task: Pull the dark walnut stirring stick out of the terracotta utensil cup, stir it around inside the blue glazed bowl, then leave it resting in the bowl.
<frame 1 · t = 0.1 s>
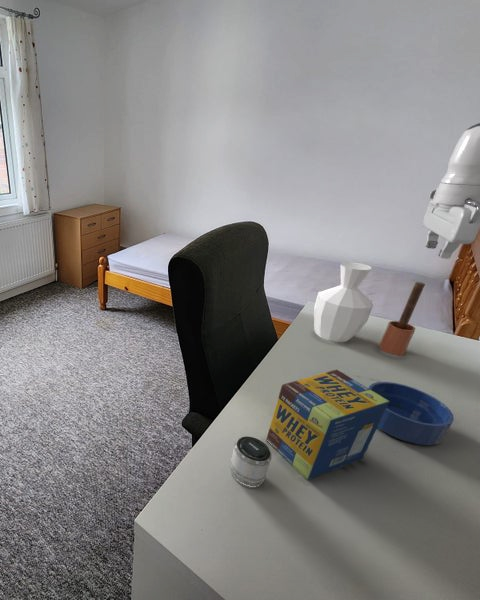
hand: (436, 252, 86), 33 cm above the table, tool pointing down, fingers open, 8 cm apart
protein box: (312, 450, 72), on the table
holder: (390, 351, 104), on the table
vase: (331, 337, 112), on the table
bowl: (398, 422, 78), on the table
small jar: (245, 475, 67), on the table
stick: (391, 349, 104), point 1 cm above the table, touching holder
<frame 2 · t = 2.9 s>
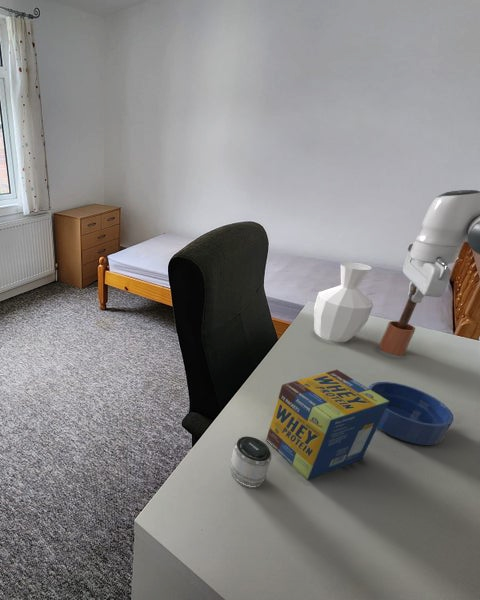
hand: (413, 299, 97), 18 cm above the table, tool pointing down, fingers closed on stick, 2 cm apart
stick: (391, 349, 104), point 1 cm above the table, touching gripper, holder
everything else where it was.
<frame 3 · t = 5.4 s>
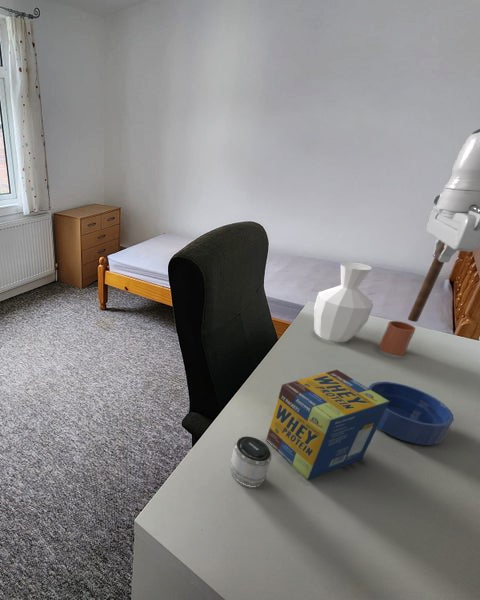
hand: (439, 259, 84), 32 cm above the table, tool pointing down, fingers closed on stick
stick: (412, 319, 91), point 15 cm above the table, touching gripper
everything else where it was.
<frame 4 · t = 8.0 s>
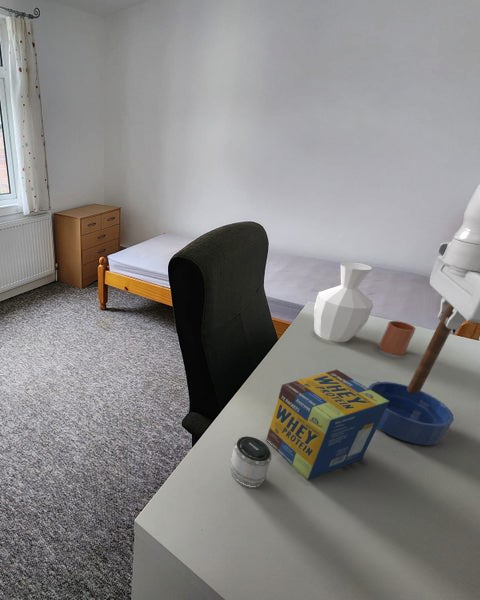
hand: (447, 323, 67), 26 cm above the table, tool pointing down, fingers closed on stick
stick: (412, 391, 74), point 9 cm above the table, touching gripper
everything else where it was.
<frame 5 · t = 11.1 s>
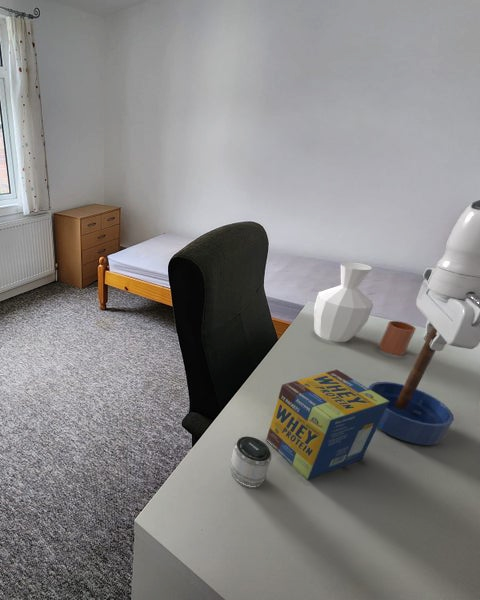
hand: (431, 344, 72), 20 cm above the table, tool pointing down, fingers closed on stick, 2 cm apart
stick: (400, 406, 79), point 3 cm above the table, touching gripper
everything else where it was.
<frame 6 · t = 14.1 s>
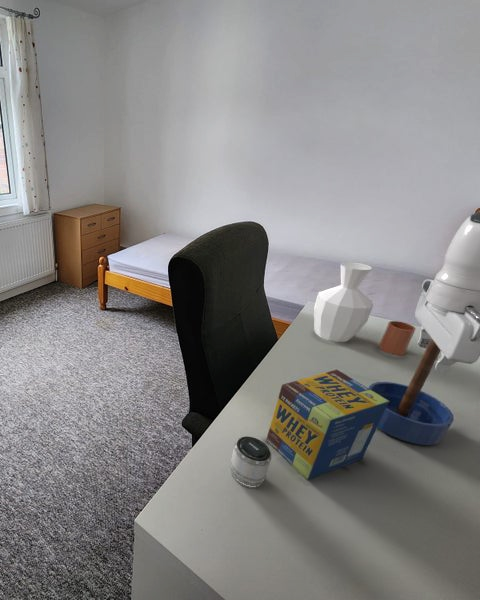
hand: (430, 357, 71), 18 cm above the table, tool pointing down, fingers open, 8 cm apart
stick: (398, 420, 78), point 1 cm above the table, touching bowl
everything else where it was.
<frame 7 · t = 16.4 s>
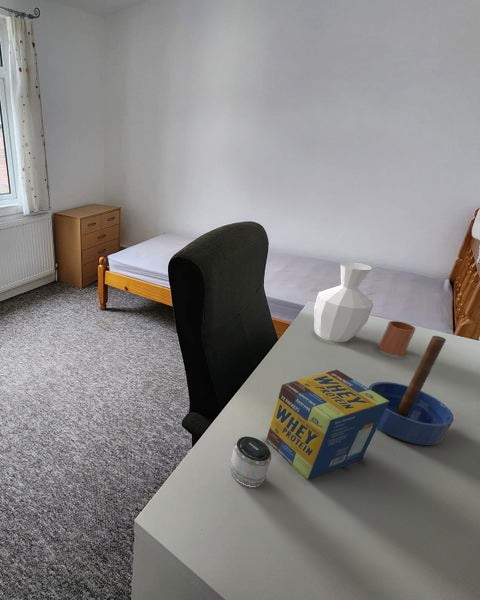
nothing on the table moved.
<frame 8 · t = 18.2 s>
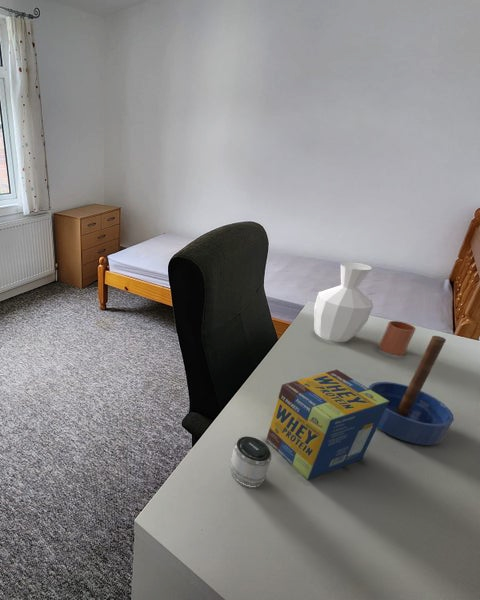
nothing on the table moved.
at the end: stick inside the target area in the bowl (0.1 cm from its centre), point 0.6 cm above the bowl's base; stick moved 36.6 cm from its start; the gripper is holding nothing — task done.
